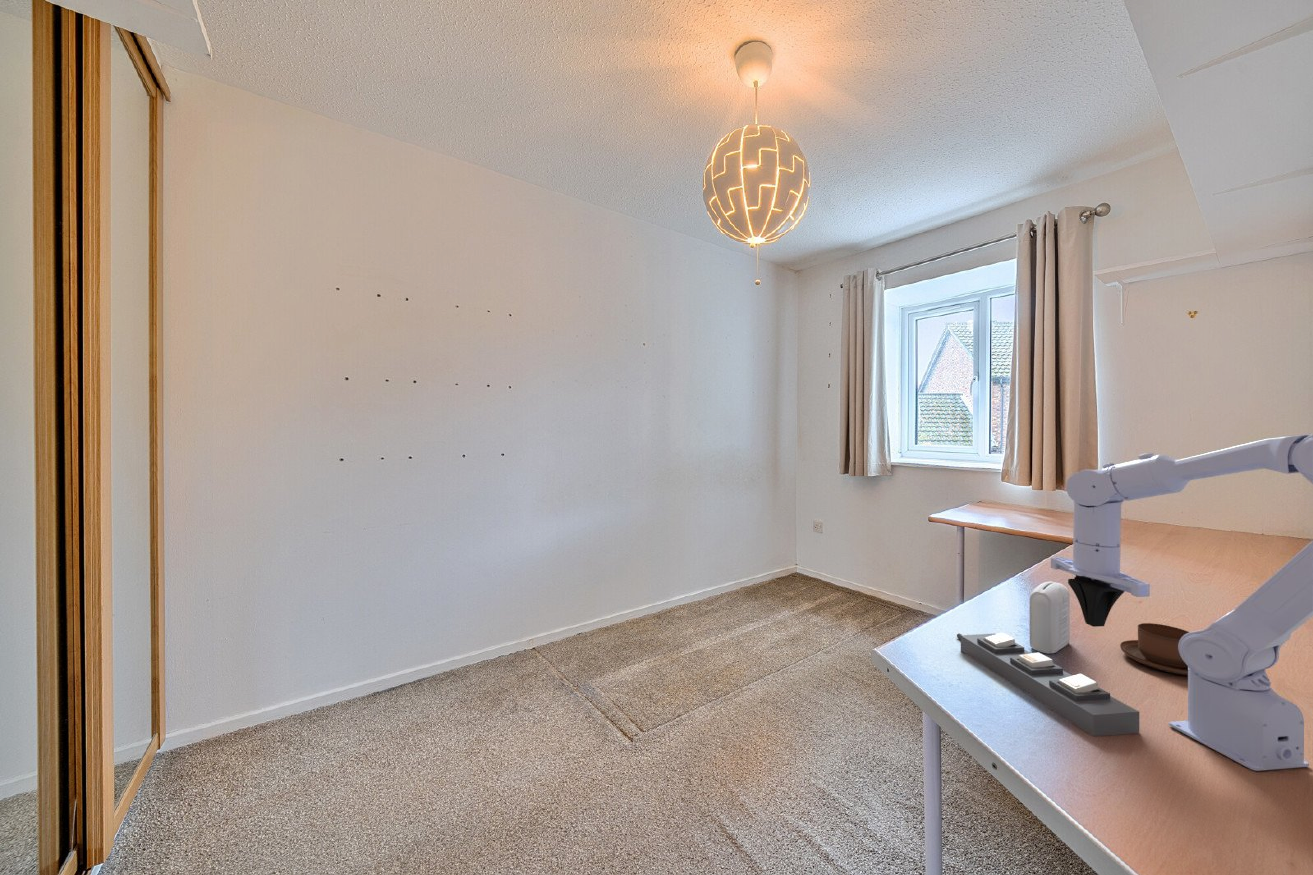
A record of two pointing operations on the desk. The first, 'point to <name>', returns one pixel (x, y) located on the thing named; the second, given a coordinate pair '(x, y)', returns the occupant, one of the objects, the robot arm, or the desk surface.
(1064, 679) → the rocker
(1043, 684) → the rocker switch panel
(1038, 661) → the middle rocker
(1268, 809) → the desk surface
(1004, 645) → the rocker
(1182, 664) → the cup and saucer
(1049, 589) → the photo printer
